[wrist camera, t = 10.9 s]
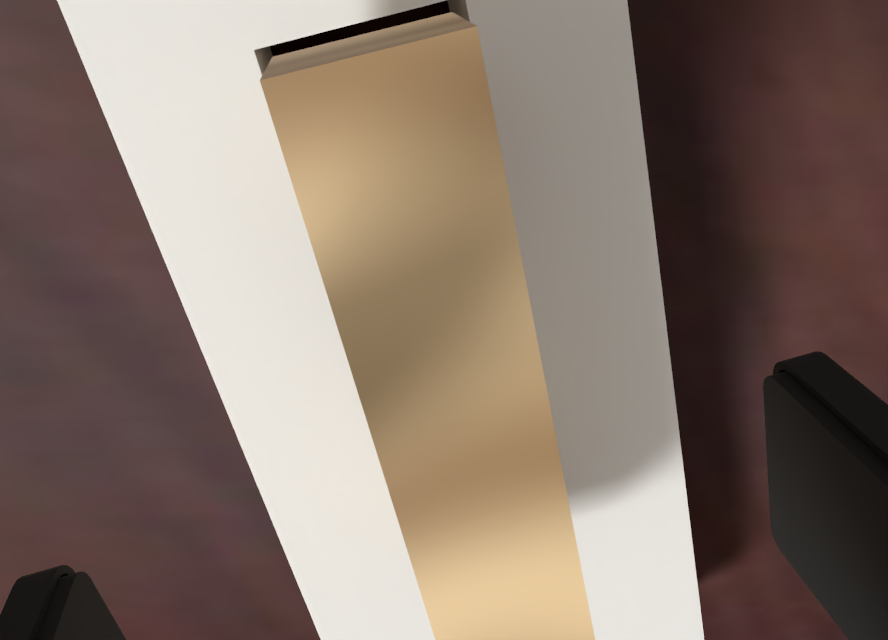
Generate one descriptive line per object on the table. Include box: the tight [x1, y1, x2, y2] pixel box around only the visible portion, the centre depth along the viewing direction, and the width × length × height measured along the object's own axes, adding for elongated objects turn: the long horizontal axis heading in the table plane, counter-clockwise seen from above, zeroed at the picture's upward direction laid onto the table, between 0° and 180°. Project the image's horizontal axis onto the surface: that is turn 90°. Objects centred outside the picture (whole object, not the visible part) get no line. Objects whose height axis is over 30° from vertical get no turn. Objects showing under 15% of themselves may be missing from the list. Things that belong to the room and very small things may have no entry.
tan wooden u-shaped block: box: [260, 12, 595, 640], centre depth 17 cm, size 13×3×8 cm, turn 12°
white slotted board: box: [57, 0, 704, 640], centre depth 19 cm, size 26×10×3 cm, turn 13°
